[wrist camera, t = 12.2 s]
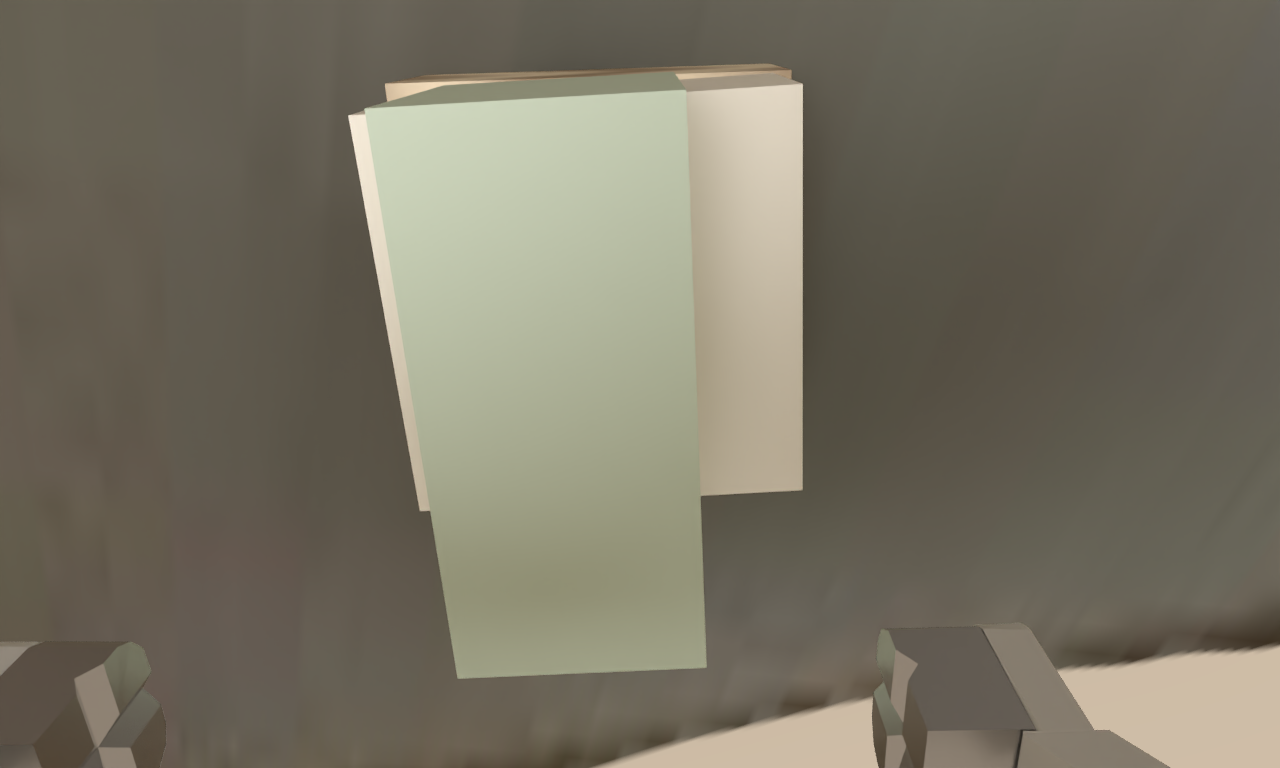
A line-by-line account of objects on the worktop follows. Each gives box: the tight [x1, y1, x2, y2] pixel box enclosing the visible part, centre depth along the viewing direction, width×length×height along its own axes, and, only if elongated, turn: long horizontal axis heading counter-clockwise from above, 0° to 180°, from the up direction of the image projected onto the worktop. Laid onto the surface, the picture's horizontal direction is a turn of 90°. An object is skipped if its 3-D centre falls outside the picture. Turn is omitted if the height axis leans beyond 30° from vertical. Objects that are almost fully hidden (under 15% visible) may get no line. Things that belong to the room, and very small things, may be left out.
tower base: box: [385, 64, 792, 102], centre depth 28 cm, size 11×11×5 cm
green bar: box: [365, 72, 707, 679], centre depth 19 cm, size 5×11×6 cm, turn 3°
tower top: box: [348, 73, 803, 511], centre depth 24 cm, size 10×10×5 cm
